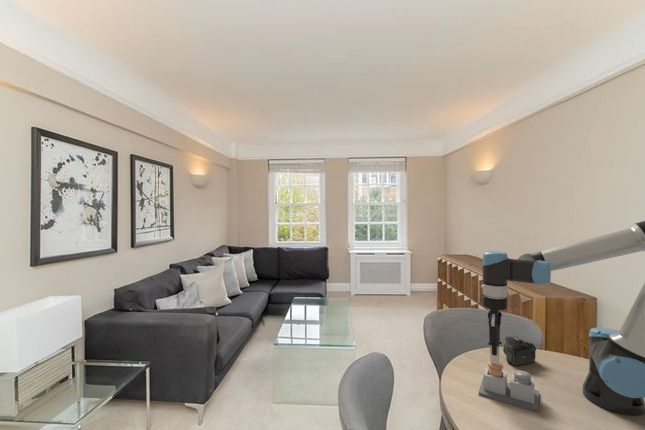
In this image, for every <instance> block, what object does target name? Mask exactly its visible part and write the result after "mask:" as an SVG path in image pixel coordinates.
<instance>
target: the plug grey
mask: <svg viewBox="0 0 645 430" xmlns="http://www.w3.org/2000/svg"><path fill="white" fill-rule="evenodd" d="M513 373H514V376H515V382H519V383H523V384H527V385H530V379H531V378H532V374H530V373H529V372H528V371H525V370H520V369H517V370H514V371H513Z"/></svg>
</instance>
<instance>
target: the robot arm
mask: <svg viewBox="0 0 645 430" xmlns="http://www.w3.org/2000/svg"><path fill="white" fill-rule="evenodd" d="M640 252H645V220H644V221H639V222H635V223H633V224H632V225H631V226H630V227H629V228H625V229H622V230H617V231H614V232H610V233H607V234H602V235H598V236H594V237H590V238H587V239H583V240H579V241H575V242H572V243H568V244H564V245H559V246H555V247H552V248H548V249H544V250H541V251H536V252H531V253H524V254H522V255H520V256H519V257H518V258H510V257H508V254H507V253H506V252H504V251H497V250H496V251H493V250H492V251H491V250H490V251H485V252H484V253H483V255H482V264H481V265H482V284H481V286H480V288H481V289H482V294H483V295H482V306H483V307H484V308H486V309H489V310H488V312H487V318H488V331H489V335H488V336H489V337H488V338H489V342H487V345H488V346H489V347H490V348H489V349H490V350H489V357H490V358H489V361H490V363H493V364H497V365H499V362H500V345H502V341H500V340H501V337H500V336H501V335H500V333H501V332H500V331H501V322H502V315H503V312H501V311H505V310H507V309H508V298H507V297H508V294H509V293H508V281H509V282H517V283H518V282H519V283H525V284H527V283H529V284H535V285H549V284H550V283H551V281H552V279H551V276H552V273H551V272H554V271H558V270H562V269H568V268H572V267H577V266H581V265H585V264H591V263H594V262H600V261H603V260H604V261H605V260H608V259H612V258H617V257H621V256H625V255H627V256H628V255H631V254H634V253H640ZM588 333H589V334H588V338H589V339H588V341H589V342H588V343H589V344H588V345H589V346H588V351H589V352H588V354H589V355H588V357H589V362H588V363H589V365H588V366H589V367H588V368H589V369H588V370H589V371H588V373H587V375H586V377H585V379H584V381H583V384H582V394H583V395H584V397H585V398H586V399H587V400H588V401H590V402H592V403H593V404H595V405H597V406H598V407H601V408H603V409H605V410H608V411H610V412H611V411H612V412H614V413H619V414H623V415H627V416H639V415H643V414H645V282H644V283H643V284H642V287H641V289H640V290H639V293H638V295H637V297H636V299H635V300H634V302H633V304H632V306H631V308H630V309H629V312H628V314H627V315H626V317H625V319H624V322H623V324H622V326H621V327H620V329H618V330H617V329H612V328H604V327H593V328H590V329H589V332H588Z"/></svg>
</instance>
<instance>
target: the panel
mask: <svg viewBox="0 0 645 430" xmlns="http://www.w3.org/2000/svg"><path fill="white" fill-rule="evenodd" d="M509 382H510V383H509ZM509 382H508V371H505V370H502V378H499V377H495V376H491V375H489V366H485V369H484V372H483V378H482V381H481V384H480V386H479V390H478V396H482V397H486V398H489V399H492V400H495V401H498V402H503V403H506V404H509V405H513V406H516V407H519V408H523V409H527V410H531V411H534V412H536V413H540V396H539V395H540V392H539V390H536V389H535V378H534V377H531V379H530V385H527V384H523V383H519V382H515V376H514V372H513V373H511V374H510V381H509Z"/></svg>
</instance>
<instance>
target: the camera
mask: <svg viewBox="0 0 645 430" xmlns="http://www.w3.org/2000/svg"><path fill="white" fill-rule="evenodd" d="M504 340H505V344H504V345H503V349H502V351H503V353H504V354H505V356H506V357H505V358H506V359H505V360H506V362H507V363H509V364H510V365H513V366H522V365H526V364H531V363H533V362H535V361H536V360H535V359H536V351H537V347H536V346H535V345H534V343H531V342H530V341H528V340H525V339H522V338H520V337H516V336H511V335H508V336H505V338H504Z"/></svg>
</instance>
